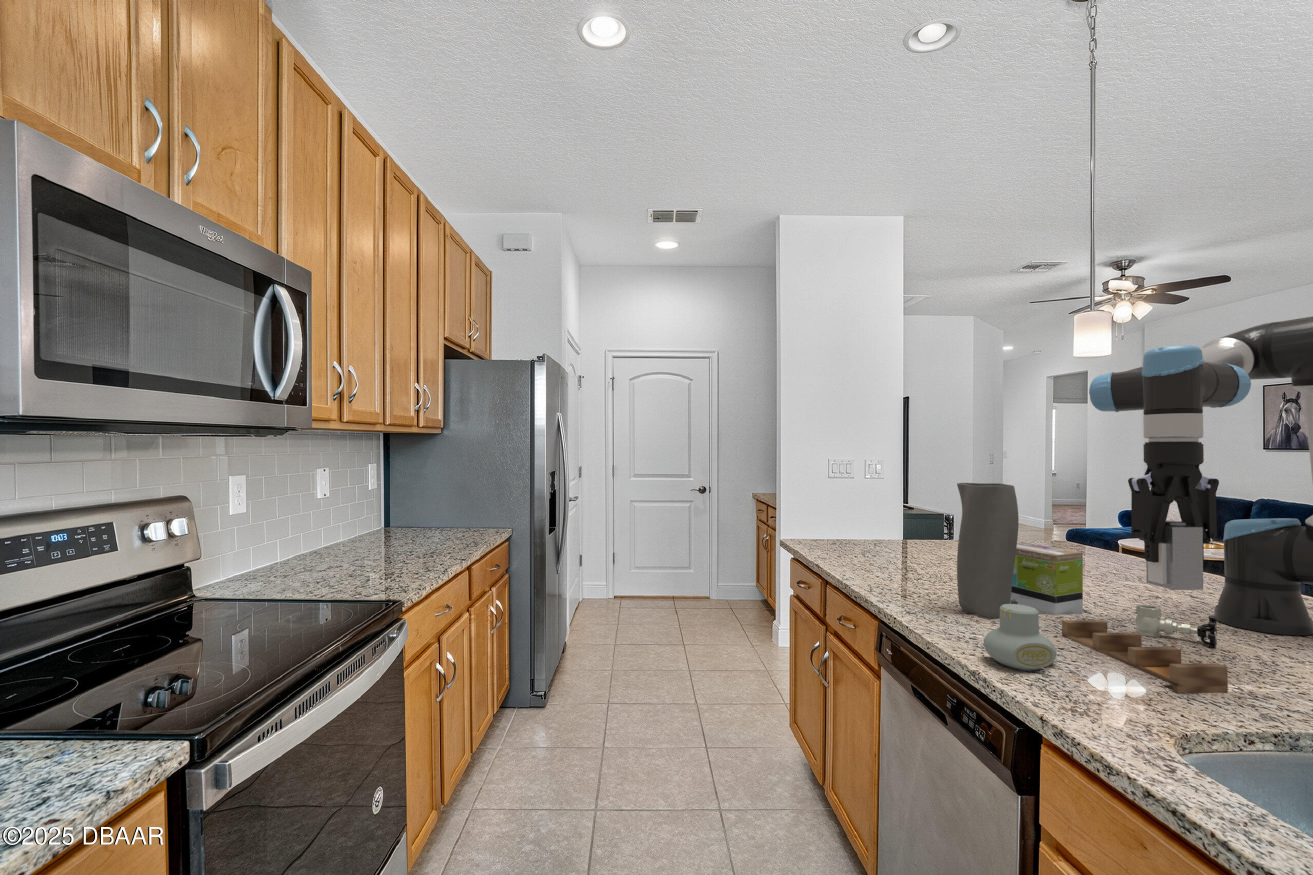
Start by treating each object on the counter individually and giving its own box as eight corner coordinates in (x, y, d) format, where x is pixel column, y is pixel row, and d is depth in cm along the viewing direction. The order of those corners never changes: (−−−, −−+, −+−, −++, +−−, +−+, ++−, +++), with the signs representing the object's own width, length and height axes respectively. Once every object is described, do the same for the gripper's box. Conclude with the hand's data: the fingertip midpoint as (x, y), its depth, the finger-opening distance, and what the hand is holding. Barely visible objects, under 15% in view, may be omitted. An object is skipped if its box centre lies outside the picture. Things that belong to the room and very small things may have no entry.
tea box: (994, 603, 148) (994, 543, 148) (1022, 599, 152) (1021, 541, 152) (1056, 620, 134) (1055, 553, 134) (1084, 615, 138) (1084, 550, 138)
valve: (1133, 641, 119) (1215, 656, 111) (1132, 607, 120) (1214, 620, 111) (1137, 633, 124) (1217, 647, 116) (1137, 601, 124) (1216, 613, 116)
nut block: (1175, 582, 101) (1174, 519, 102) (1203, 589, 96) (1202, 523, 97) (1146, 582, 101) (1145, 519, 101) (1173, 589, 96) (1172, 523, 96)
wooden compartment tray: (1101, 640, 119) (1101, 620, 119) (1227, 692, 94) (1227, 666, 94) (1062, 640, 119) (1062, 620, 119) (1178, 693, 94) (1177, 667, 94)
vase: (1005, 610, 141) (1004, 482, 142) (1028, 625, 129) (1027, 486, 130) (949, 608, 143) (948, 482, 144) (966, 622, 131) (965, 485, 132)
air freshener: (1034, 656, 110) (1034, 601, 110) (1066, 673, 102) (1065, 614, 102) (975, 656, 110) (975, 601, 110) (1002, 673, 102) (1002, 614, 102)
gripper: (1204, 441, 103) (1205, 577, 103) (1101, 440, 103) (1103, 577, 102) (1248, 440, 96) (1250, 587, 95) (1138, 440, 95) (1139, 587, 95)
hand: (1174, 581), depth 99 cm, fingers closed on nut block, 5 cm apart
